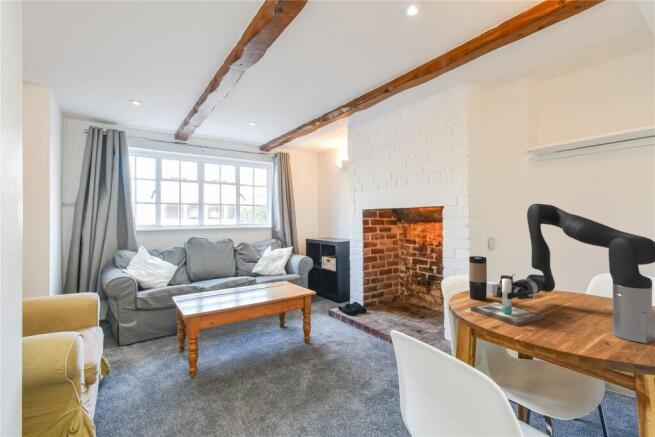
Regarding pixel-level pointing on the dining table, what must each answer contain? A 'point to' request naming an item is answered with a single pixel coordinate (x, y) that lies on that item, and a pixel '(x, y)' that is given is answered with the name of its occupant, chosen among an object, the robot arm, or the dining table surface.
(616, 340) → the dining table surface
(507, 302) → the cylinder
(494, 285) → the white cube
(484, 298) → the travel mug
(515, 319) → the board
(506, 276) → the mate gourd
